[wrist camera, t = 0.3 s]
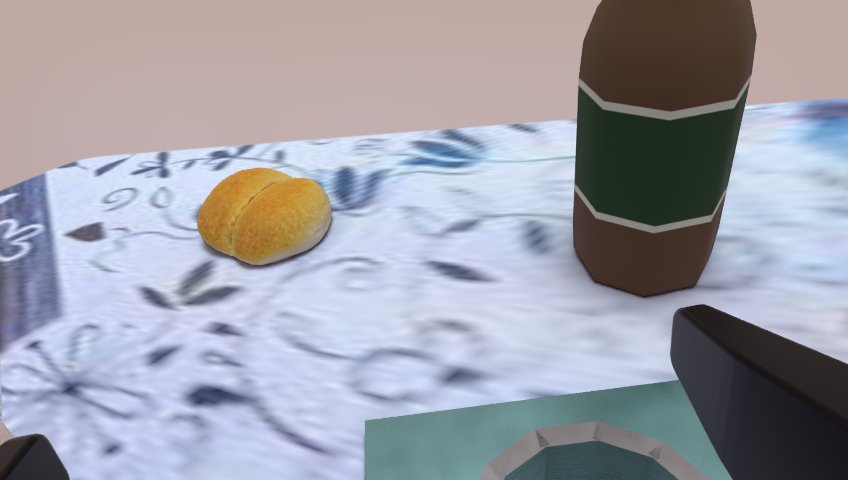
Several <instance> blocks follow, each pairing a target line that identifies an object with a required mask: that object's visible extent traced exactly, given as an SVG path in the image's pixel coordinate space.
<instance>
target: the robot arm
mask: <svg viewBox="0 0 848 480" xmlns="http://www.w3.org/2000/svg"><path fill="white" fill-rule="evenodd" d="M670 356H671V362H672V365H673V368H674V370H675V372H676V374H677V376H678V378H679V380H680V382H681V384H682V386H683V388H684V390H685V392H686V394H687V396H688V398H689V400H690V402H691V404H692V406H693V408H694V410H695V412H696V414H697V416H698V418H699V420H700V422H701V424H702V426H703V428H704V430H705V432H706V434H707V436H708V438H709V440H710V442H711V444H712V446H713V447H714V449H715V451H716V453H717V455H718V457H719V459H720V460H721V462H722V464H723V465H724V467H725V468H726V470H727V472H728V473H729V475H730V476H731V478H732V480H848V364H846V363H844V362H842V361H839V360H837V359H834V358H832V357H830V356H827V355H825V354H822V353H820V352H818V351H815V350H813V349H811V348H808V347H806V346H803V345H801V344H799V343H796V342H794V341H791V340H789V339H787V338H784V337H782V336H779V335H777V334H775V333H772V332H770V331H768V330H765V329H763V328H760V327H758V326H756V325H753V324H751V323H748V322H746V321H744V320H741V319H739V318H736V317H734V316H732V315H729V314H727V313H725V312H722V311H720V310H717V309H715V308H713V307H710V306H707V305H703V304H701V305H695V306H690V307H684V308H680V309H678V310H677V311H676V312H675V314H674V317H673V325H672V337H671V350H670ZM0 480H70V478H69V475H68V472H67V470H66V469H65V467H64V465H63V464H62V462H61V460H60V459H59V457H58V455H57V454H56V452H55V450H54V448H53V447H52V445H51V443H50V442H49V440H48V439H47V438H46V437H45V436H44V435H42V434H31V435H26V436H21V437H16V438H12V439H9V440H7V441H5V442H4V443H3V444H1V445H0Z"/></svg>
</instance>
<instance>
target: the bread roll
mask: <svg viewBox="0 0 848 480" xmlns="http://www.w3.org/2000/svg"><path fill="white" fill-rule="evenodd" d="M331 213H332V211H331V205H330V201H329V198H328V196H327V194H326V193H325V192H324V190H323V189H322V188H321V187H320V185H319V184H317V183H316V182H315V181H313V180H311V179H306V178H292V177H290V176H288V175H286V174H284V173H282V172H279V171H276V170H272V169H267V168H253V169H247V170H242V171H239V172H237V173H235V174H233V175H231V176H229V177H227V178H226V179H224V180H223V181H221V182H220V183H219V184H218V185H217V186H216V187H215V188H214V189H213V190H212V192H211V193H210V195H209V196H208V197H207V198H206V200H205V201H204V203H203V205H202V207H201V209H200V212H199V216H198V222H197V226H198V231H199V233H200V235H201V237H202V238H203V239H204V240H205V241H206V243H207V244H209V245H210V246H211V247H213V248H214V249H216V250H218V251H220V252H222V253H224V254H227V255H229V256H234V257H236V258H237V259H239V260H241V261H243V262H246V263H249V264H252V265H265V264H268V263H274V262H277V261H280V260H283V259H286V258H289V257H291V256H294V255H297V254H299V253H301V252H304V251H307V250H309V249H310V248H312V247H313V246H314V245H316V244H317V243H318V242H319V241H320V240H321V239H322V238H323V236H324V235H325V233H326V232H327V230H328V227H329V225H330V222H331Z"/></svg>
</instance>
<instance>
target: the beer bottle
mask: <svg viewBox="0 0 848 480" xmlns="http://www.w3.org/2000/svg"><path fill="white" fill-rule="evenodd" d="M755 43H756V29H755V24H754V18H753V13H752V8H751V2H750V0H602V1H601V3H600V4H599V6H598V7H597V9H596V12H595V14H594V16H593V19H592V21H591V24H590V26H589V29H588V31H587V34H586V36H585V38H584V41H583V49H582V57H581V65H580V73H579V87H578V88H579V89H578V112H577V137H576V162H575V186H574V211H573V238H574V248H575V250H576V252H577V254H578V255H579V257H580V258H581V260H582V261H583V263H584V264H585V266H586V268H587V269H588V271H589V272H590V274H591V275H592V277H593V278H594V280H595V281H596V282H599V283H602V284H605V285H608V286H612V287H615V288H618V289H621V290H624V291H628V292H631V293H634V294H637V295H640V296H644V297H645V296H650V295H655V294H659V293H664V292H669V291H673V290H678V289H683V288H688V287H692V286H693V285H695V284H696V283H697V281H698V279H699V277H700V275H701V273H702V271H703V269H704V267H705V264H706V262H707V260H708V258H709V256H710V254H711V252H712V249H713V245H714V242H715V238H716V235H717V232H718V228H719V224H720V219H721V214H722V210H723V205H724V200H725V196H726V191H727V186H728V182H729V177H730V172H731V168H732V163H733V158H734V154H735V149H736V144H737V140H738V135H739V130H740V126H741V121H742V116H743V112H744V107H745V102H746V98H747V93H748V88H749V84H750V79H751V74H752V67H753V59H754V51H755Z"/></svg>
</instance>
